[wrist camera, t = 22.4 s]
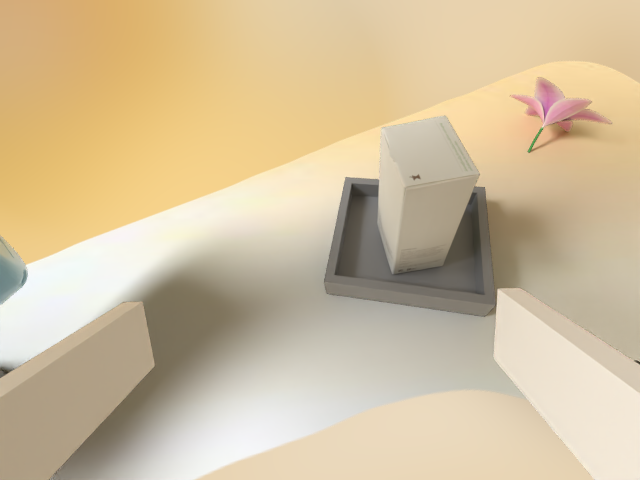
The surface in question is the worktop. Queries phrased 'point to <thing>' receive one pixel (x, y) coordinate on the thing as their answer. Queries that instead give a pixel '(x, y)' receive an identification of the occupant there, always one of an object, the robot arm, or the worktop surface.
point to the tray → (415, 286)
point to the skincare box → (422, 192)
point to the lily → (557, 107)
